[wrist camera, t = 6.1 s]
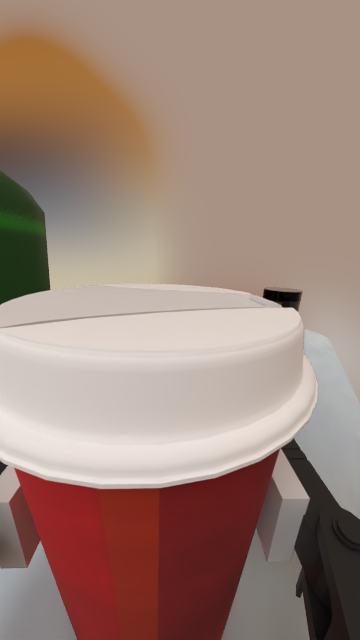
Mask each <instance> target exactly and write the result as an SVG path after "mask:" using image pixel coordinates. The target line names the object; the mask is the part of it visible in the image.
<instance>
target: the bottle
mask: <svg viewBox="0 0 360 640" xmlns="http://www.w3.org/2000/svg"><path fill="white" fill-rule="evenodd" d="M48 290H50V280H49V267H48V255H47V241H46V228H45V216H44V212H43V210H42V209H41V208H40V206H39V205H38V204H37V203H36V201H35V200H34V199H33V197H32V196H31V195H30V193H29V192H28V191H27V190H26V189H24V188H23V187H21V186H20V185H19V184H18V183H16V182H15V181H14V180H12V179H11V178H10V177H8V176H7V175H6V174H5V173H3V172H2V171H0V305H1V304H3V303H5V302H8V301H10V300H13V299H16V298H19V297H22V296H25V295H29V294H34V293H38V292H43V291H48Z"/></svg>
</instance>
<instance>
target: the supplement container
mask: <svg viewBox="0 0 360 640" xmlns="http://www.w3.org/2000/svg"><path fill="white" fill-rule="evenodd" d="M301 296H302V291H301V290H297V289H289V288H276V287H266V288H264V292H263V298H264V299H267V300H270V301H273V302H275V303H278V304H279V305H281V306H282V308H294V309H295V310H296V311H297V312H298V310H299V306H300V300H301Z"/></svg>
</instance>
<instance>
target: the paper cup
mask: <svg viewBox="0 0 360 640" xmlns="http://www.w3.org/2000/svg"><path fill="white" fill-rule="evenodd" d="M303 351H304V325H303V322H302V320H301V318H300V315H299V313H298V312H297V311H296V310H295V309H294V308H282V306H281V305H279V304H278V303H275V302H273V301H270V300H267V299H264V298H261V297H258V296H256V295H251V294H250V293H246V292H241V291H235V290H228V289H221V288H213V287H203V286H190V285H173V284H110V285H91V286H81V287H70V288H63V289H55V290H48V291H43V292H38V293H34V294H29V295H25V296H22V297H19V298H16V299H13V300H10V301H8V302H5V303H3V304H1V305H0V461H1V462H3V463H4V464H6V465H9V466H11V467H14V469H15V472H16V474H17V477H18V480H19V483H20V485H21V488H22V491H23V493H24V496H25V499H26V502H27V504H28V507H29V510H30V513H31V515H32V518H33V521H34V523H35V526H36V529H37V532H38V534H39V537H40V540H41V543H42V545H43V548H44V551H45V553H46V556H47V559H48V562H49V564H50V567H51V570H52V573H53V575H54V578H55V581H56V584H57V586H58V589H59V592H60V595H61V597H62V600H63V603H64V605H65V608H66V611H67V613H68V616H69V619H70V621H71V624H72V627H73V629H74V632H75V635H76V637H77V640H221V637H222V634H223V631H224V628H225V625H226V622H227V619H228V616H229V612H230V609H231V606H232V603H233V600H234V597H235V593H236V590H237V587H238V584H239V581H240V577H241V574H242V571H243V568H244V564H245V561H246V558H247V555H248V551H249V548H250V545H251V542H252V538H253V535H254V532H255V529H256V525H257V522H258V519H259V516H260V512H261V509H262V506H263V503H264V499H265V496H266V493H267V490H268V486H269V483H270V480H271V477H272V473H273V470H274V467H275V464H276V461H277V457H278V454H279V451H280V448H281V447H283V446H284V445H286V444H287V443H289V442H290V441H291V440H292V439H293V438H294V437H295V436H296V435H297V434H298V433H299V432H300V430H301V429H302V428H303V427H304V426H305V425H306V424H307V423H308V422H309V420H310V417H311V415H312V413H313V410H314V408H315V405H316V403H317V399H318V382H317V379H316V376H315V373H314V371H313V368H312V365H311V362H310V360H309V359H308V358H307V356H306V355H305V353H304V352H303Z"/></svg>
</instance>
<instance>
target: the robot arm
mask: <svg viewBox="0 0 360 640" xmlns="http://www.w3.org/2000/svg"><path fill="white" fill-rule="evenodd" d="M256 527H257V531H258V534H259V537H260V540H261V543H262V547H263V550H264V553H265V556H266V559H267V562H277V561H291V560H292V557H293V553H294V550H295V551H296V553H297V556H298V558H299V560H300V563H301V565H302V569H301V572H300V575H299V578H298V581H297V585H296V596H297V597H299V598H300V597H301V594H302V591H303V597H304V603H305V610H306V617H307V623H308V630H309V637H310V640H360V519H358V518H357V517H356V516H354V515H353V514H352V513H351V512H349V511H347V510H345V509H343V508H341V507H340V505H339V504H338V503H337V502H336V500H335V499H334V497H333V496H332V494H331V493H330V491H329V490H328V488H327V487H326V485H325V484H324V482H323V481H322V480H321V478H320V477H319V475H318V474H317V472H316V471H315V469H314V468H313V466H312V465H311V463H310V462H309V461H308V460H307V457H306V456H305V454H304V453H303V452H302V451H301V450H300V447H299V446H298V444H297V443H296V441H295V440H294V438H293V439H292V440H291V441H290V442H289V443H287V444H286V445H284V446H283V447H281V448H280V451H279V454H278V457H277V461H276V464H275V467H274V470H273V473H272V477H271V480H270V483H269V486H268V490H267V493H266V496H265V499H264V503H263V506H262V509H261V512H260V516H259V519H258V522H257V525H256ZM39 542H40V537H39V534H38V532H37V529H36V526H35V523H34V521H33V518H32V515H31V513H30V510H29V507H28V504H27V502H26V499H25V496H24V493H23V491H22V488H21V485H20V483H19V480H18V477H17V474H16V472H15V469H14V467H11V466H9V465H6V464H4V463H3V462H1V461H0V568H27V567H28V565H29V563H30V561H31V559H32V557H33V555H34V553H35V550H36V548H37V546H38V544H39Z"/></svg>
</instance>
